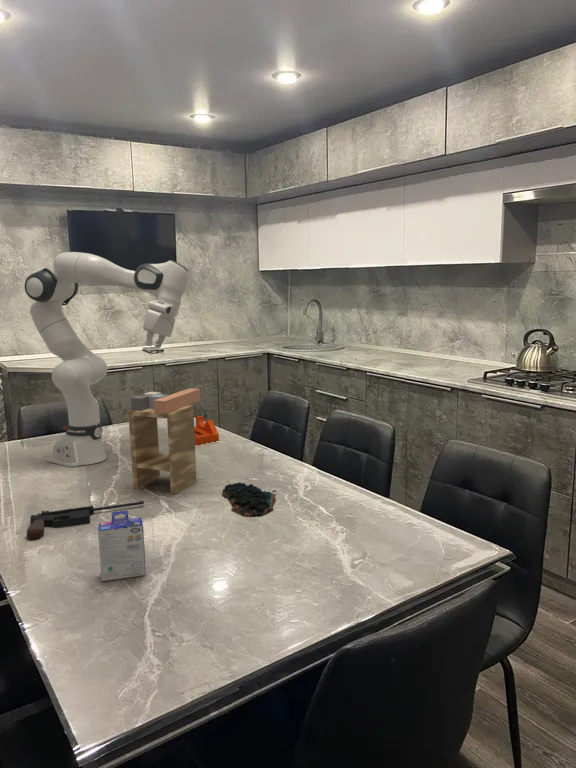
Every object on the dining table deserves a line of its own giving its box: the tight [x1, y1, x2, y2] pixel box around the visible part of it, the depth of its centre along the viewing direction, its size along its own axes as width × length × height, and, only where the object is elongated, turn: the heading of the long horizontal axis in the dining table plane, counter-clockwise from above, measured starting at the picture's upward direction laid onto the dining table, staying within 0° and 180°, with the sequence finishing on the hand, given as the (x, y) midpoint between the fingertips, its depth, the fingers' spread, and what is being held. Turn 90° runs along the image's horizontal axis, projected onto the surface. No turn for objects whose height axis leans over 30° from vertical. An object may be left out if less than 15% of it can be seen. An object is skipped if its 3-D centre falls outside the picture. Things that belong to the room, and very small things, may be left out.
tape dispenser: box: [194, 415, 220, 446], centre depth 251 cm, size 18×13×8 cm
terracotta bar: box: [154, 387, 202, 414], centre depth 193 cm, size 4×22×4 cm, turn 159°
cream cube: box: [143, 391, 162, 406], centre depth 196 cm, size 4×4×4 cm
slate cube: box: [149, 394, 168, 409], centre depth 191 cm, size 4×4×4 cm
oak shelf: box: [127, 404, 197, 495], centre depth 193 cm, size 16×13×26 cm
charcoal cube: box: [130, 395, 149, 411], centre depth 189 cm, size 4×4×4 cm
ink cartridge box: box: [97, 510, 146, 582], centre depth 135 cm, size 10×6×14 cm, turn 107°
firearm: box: [26, 500, 145, 541], centre depth 167 cm, size 32×3×15 cm
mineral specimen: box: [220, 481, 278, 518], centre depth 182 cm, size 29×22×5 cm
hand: (152, 346), depth 205 cm, fingers open, 8 cm apart
